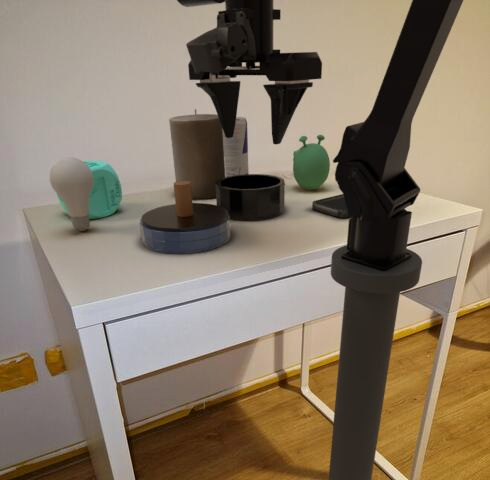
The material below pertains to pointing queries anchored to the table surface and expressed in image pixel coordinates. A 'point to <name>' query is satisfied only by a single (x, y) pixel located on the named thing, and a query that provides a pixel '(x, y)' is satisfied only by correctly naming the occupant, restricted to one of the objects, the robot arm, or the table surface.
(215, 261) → the table surface
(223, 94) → the robot arm
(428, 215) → the table surface
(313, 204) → the phone
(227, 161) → the energy drink
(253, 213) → the tin
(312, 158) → the alien toy
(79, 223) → the lightbulb
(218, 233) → the pan
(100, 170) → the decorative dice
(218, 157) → the pillar candle
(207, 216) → the lid
